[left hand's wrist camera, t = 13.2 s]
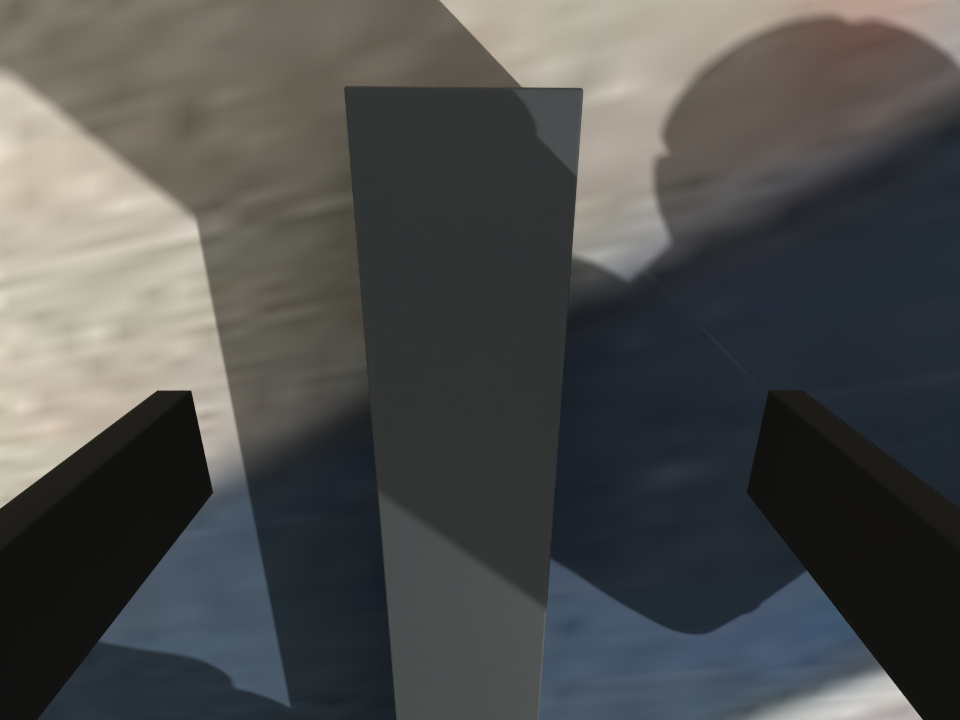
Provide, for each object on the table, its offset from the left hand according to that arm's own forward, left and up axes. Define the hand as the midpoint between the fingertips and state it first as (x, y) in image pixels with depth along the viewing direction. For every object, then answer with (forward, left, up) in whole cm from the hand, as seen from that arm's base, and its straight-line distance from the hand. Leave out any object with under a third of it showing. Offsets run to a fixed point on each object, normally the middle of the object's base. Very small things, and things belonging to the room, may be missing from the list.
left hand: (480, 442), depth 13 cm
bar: (+3, +23, -11) cm, 25 cm away
